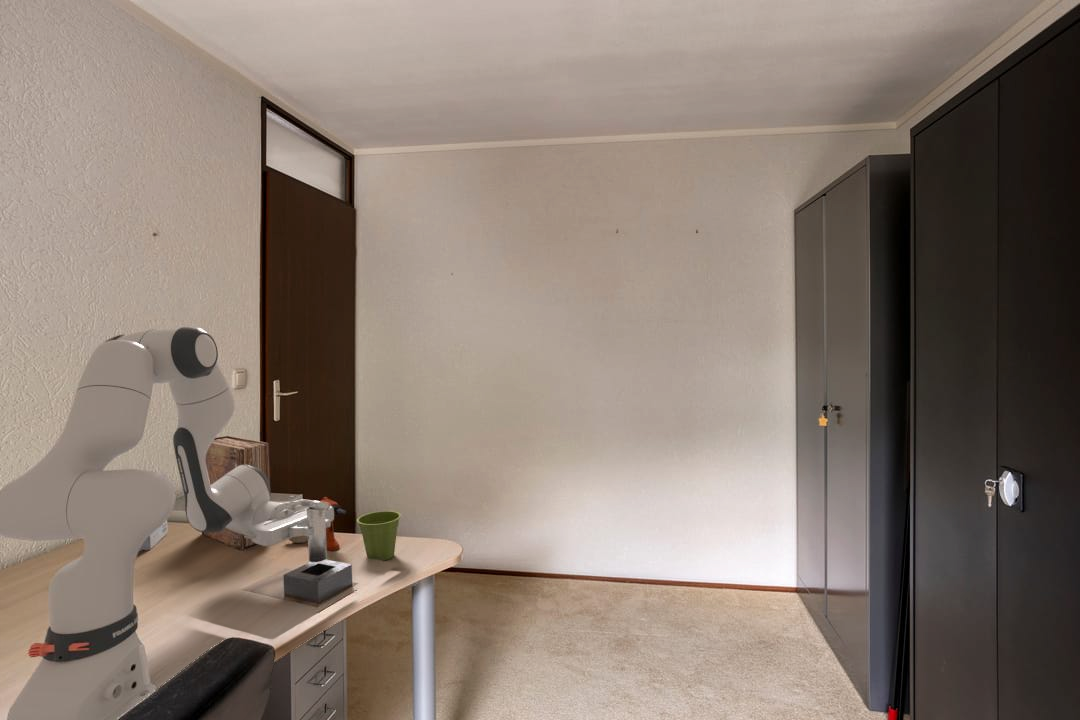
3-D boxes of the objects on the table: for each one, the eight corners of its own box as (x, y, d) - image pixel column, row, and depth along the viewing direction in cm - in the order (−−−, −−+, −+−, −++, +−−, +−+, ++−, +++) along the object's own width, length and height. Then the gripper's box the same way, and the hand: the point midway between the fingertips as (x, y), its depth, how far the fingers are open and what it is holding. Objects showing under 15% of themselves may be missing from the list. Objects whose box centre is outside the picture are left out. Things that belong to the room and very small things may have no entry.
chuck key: (335, 557, 133) (333, 500, 133) (322, 564, 130) (320, 505, 129) (310, 553, 137) (308, 496, 136) (297, 559, 133) (294, 501, 132)
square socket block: (352, 584, 136) (351, 564, 136) (318, 604, 126) (317, 582, 126) (319, 577, 140) (318, 558, 140) (284, 596, 130) (283, 574, 130)
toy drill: (339, 559, 152) (335, 503, 153) (316, 549, 166) (312, 497, 167) (357, 554, 155) (352, 499, 156) (332, 544, 169) (328, 494, 170)
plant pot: (381, 546, 165) (380, 508, 164) (411, 553, 159) (410, 514, 158) (348, 560, 155) (347, 520, 154) (379, 569, 149) (378, 526, 148)
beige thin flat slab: (358, 589, 137) (358, 583, 137) (317, 613, 125) (317, 607, 125) (285, 574, 146) (285, 568, 146) (241, 595, 134) (241, 589, 134)
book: (272, 541, 171) (268, 443, 170) (241, 551, 163) (237, 448, 162) (231, 526, 186) (227, 435, 185) (201, 534, 178) (197, 440, 177)
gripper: (238, 521, 128) (282, 529, 123) (308, 497, 147) (349, 502, 141) (239, 548, 128) (283, 557, 123) (309, 521, 147) (350, 527, 142)
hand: (319, 528), depth 132 cm, fingers closed on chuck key, 4 cm apart
